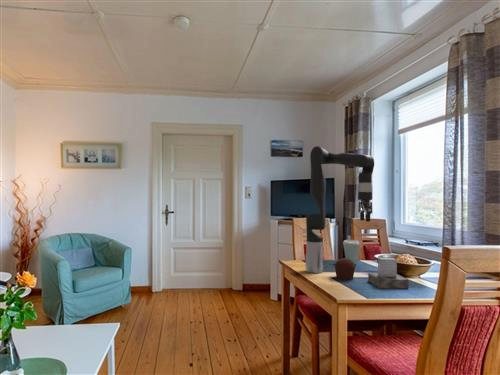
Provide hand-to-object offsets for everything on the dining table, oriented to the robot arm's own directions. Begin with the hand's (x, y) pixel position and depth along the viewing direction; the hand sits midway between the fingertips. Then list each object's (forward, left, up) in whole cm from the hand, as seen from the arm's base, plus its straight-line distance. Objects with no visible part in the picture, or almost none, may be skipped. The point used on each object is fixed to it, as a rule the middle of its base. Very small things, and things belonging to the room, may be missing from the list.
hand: (365, 220), depth 188 cm
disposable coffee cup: (+4, +35, -30) cm, 46 cm away
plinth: (+5, -17, -30) cm, 35 cm away
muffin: (-12, -3, -30) cm, 33 cm away
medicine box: (+5, -17, -26) cm, 32 cm away
